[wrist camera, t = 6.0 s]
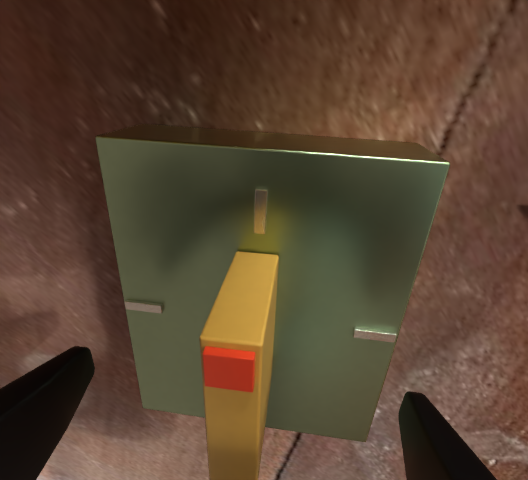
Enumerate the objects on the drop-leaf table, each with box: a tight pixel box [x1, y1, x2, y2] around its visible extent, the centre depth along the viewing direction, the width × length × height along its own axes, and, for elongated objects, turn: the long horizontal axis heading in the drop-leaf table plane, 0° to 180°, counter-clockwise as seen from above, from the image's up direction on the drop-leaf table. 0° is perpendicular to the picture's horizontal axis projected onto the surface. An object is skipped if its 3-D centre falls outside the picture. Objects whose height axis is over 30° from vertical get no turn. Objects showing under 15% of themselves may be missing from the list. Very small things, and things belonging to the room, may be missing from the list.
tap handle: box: [199, 251, 279, 480], centre depth 10 cm, size 6×1×4 cm, turn 178°
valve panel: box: [95, 124, 450, 442], centre depth 13 cm, size 12×10×3 cm
